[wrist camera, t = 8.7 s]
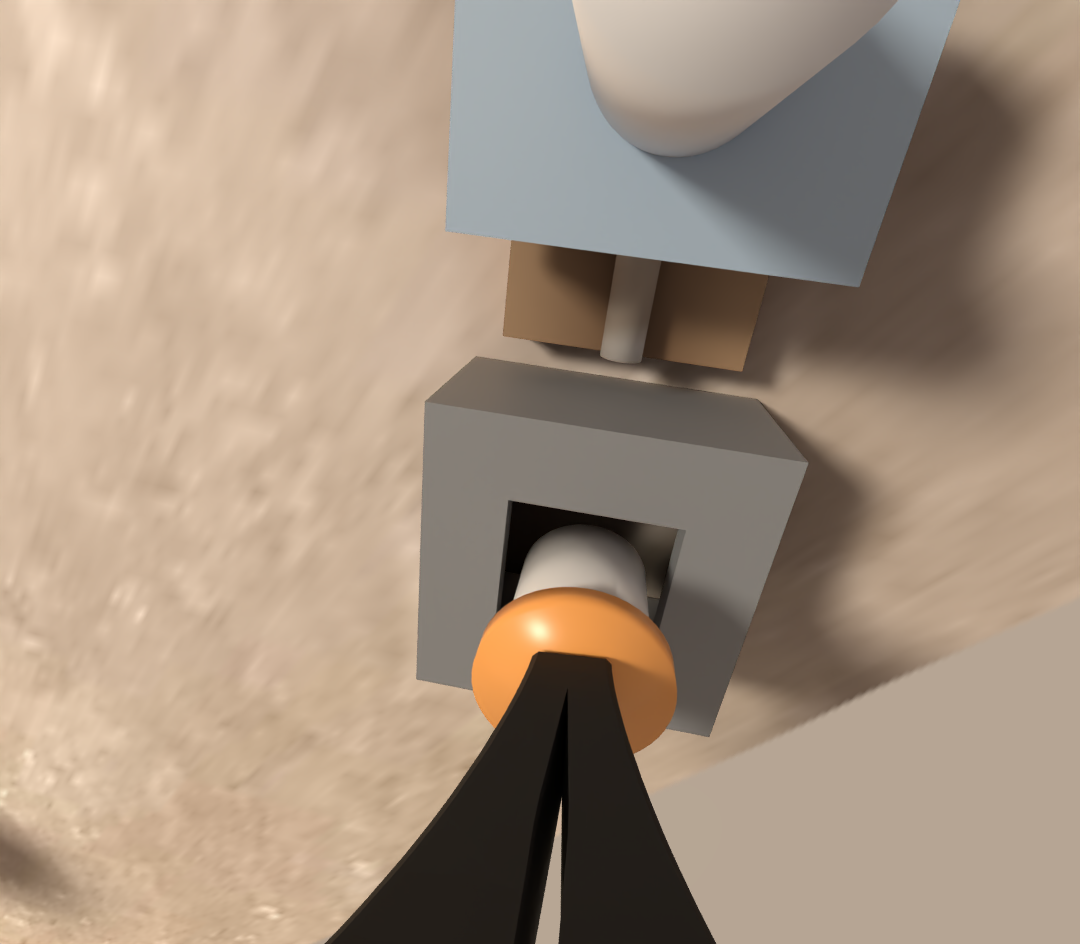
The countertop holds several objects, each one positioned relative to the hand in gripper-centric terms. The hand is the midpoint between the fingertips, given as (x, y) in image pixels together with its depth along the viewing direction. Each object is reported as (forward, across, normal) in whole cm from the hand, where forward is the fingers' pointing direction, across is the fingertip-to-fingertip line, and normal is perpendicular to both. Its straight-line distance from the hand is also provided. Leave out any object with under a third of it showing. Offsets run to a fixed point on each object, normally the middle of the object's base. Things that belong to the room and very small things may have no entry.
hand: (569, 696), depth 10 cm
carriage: (+5, -1, -10) cm, 12 cm away
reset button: (+4, 0, 0) cm, 4 cm away
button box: (+8, 0, 0) cm, 8 cm away
